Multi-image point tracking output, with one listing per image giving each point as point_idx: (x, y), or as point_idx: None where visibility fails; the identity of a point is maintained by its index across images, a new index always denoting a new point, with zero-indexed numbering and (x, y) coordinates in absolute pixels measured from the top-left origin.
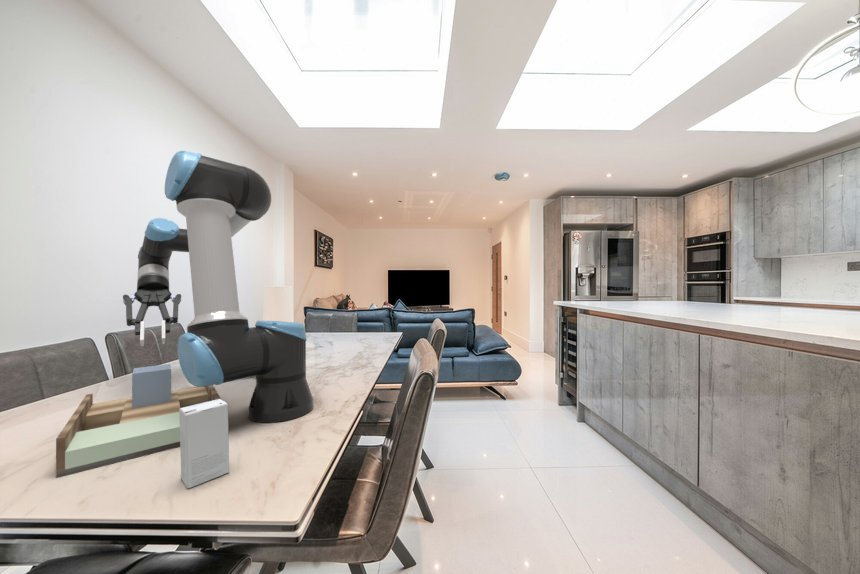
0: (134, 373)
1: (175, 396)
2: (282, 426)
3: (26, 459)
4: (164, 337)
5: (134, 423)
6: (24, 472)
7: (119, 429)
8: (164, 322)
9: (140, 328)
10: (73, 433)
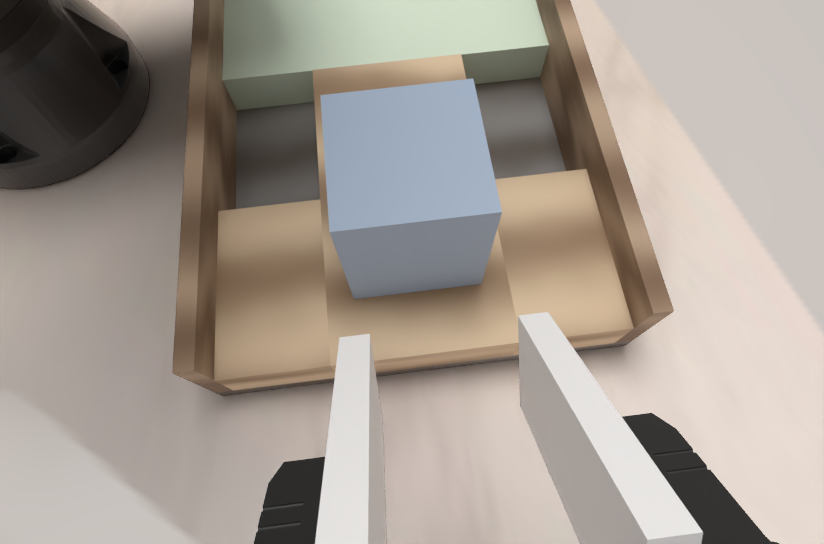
0: (465, 81)
1: (333, 253)
2: (99, 5)
3: (634, 104)
4: (346, 342)
5: (422, 36)
6: (596, 40)
7: (448, 13)
8: (326, 523)
9: (617, 411)
10: (542, 4)
